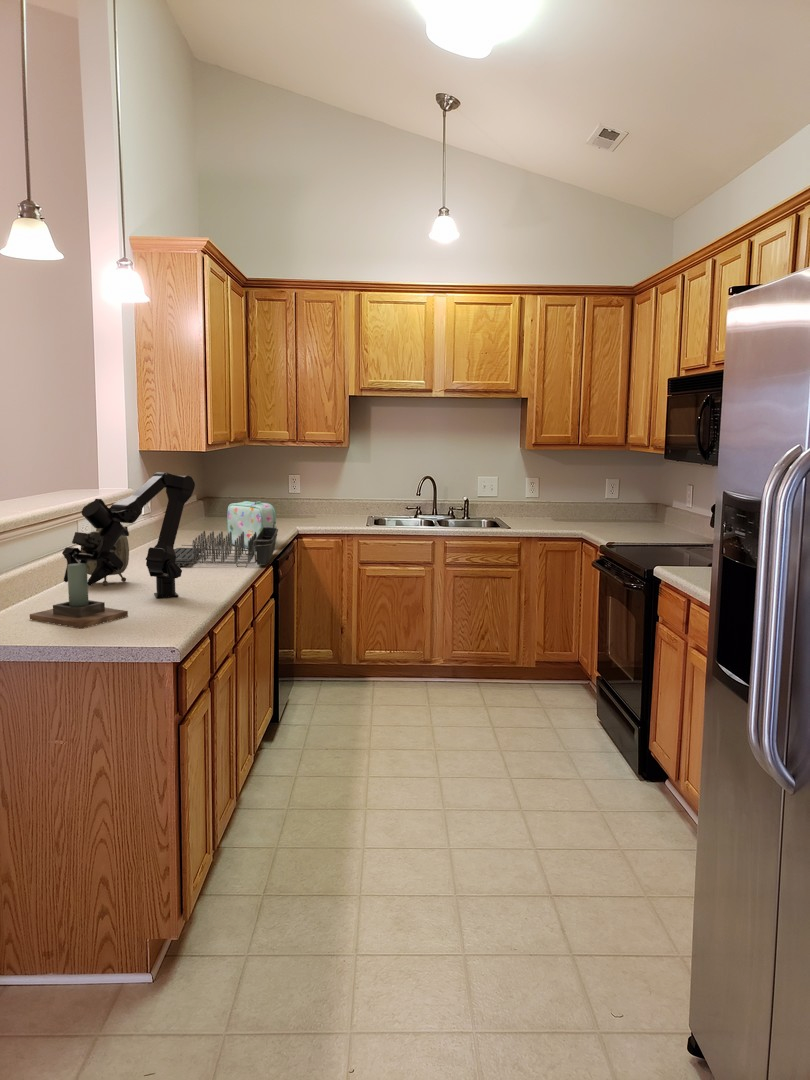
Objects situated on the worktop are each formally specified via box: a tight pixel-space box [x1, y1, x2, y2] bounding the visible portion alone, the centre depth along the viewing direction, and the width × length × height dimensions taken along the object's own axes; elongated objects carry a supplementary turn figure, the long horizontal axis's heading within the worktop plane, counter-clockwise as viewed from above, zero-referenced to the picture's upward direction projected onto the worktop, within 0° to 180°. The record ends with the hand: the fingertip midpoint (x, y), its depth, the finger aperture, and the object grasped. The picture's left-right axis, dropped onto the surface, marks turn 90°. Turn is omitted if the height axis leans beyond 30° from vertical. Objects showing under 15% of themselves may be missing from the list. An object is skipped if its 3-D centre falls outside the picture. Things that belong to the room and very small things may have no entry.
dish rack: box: [174, 527, 279, 568], centre depth 310 cm, size 34×44×12 cm
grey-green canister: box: [66, 563, 89, 608], centre depth 213 cm, size 5×5×13 cm
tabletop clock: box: [80, 528, 130, 586], centre depth 259 cm, size 14×9×25 cm, turn 103°
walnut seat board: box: [29, 599, 129, 629], centre depth 214 cm, size 16×20×4 cm
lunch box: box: [226, 500, 278, 549], centre depth 347 cm, size 27×10×21 cm, turn 51°
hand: (76, 583), depth 213 cm, fingers open, 9 cm apart
